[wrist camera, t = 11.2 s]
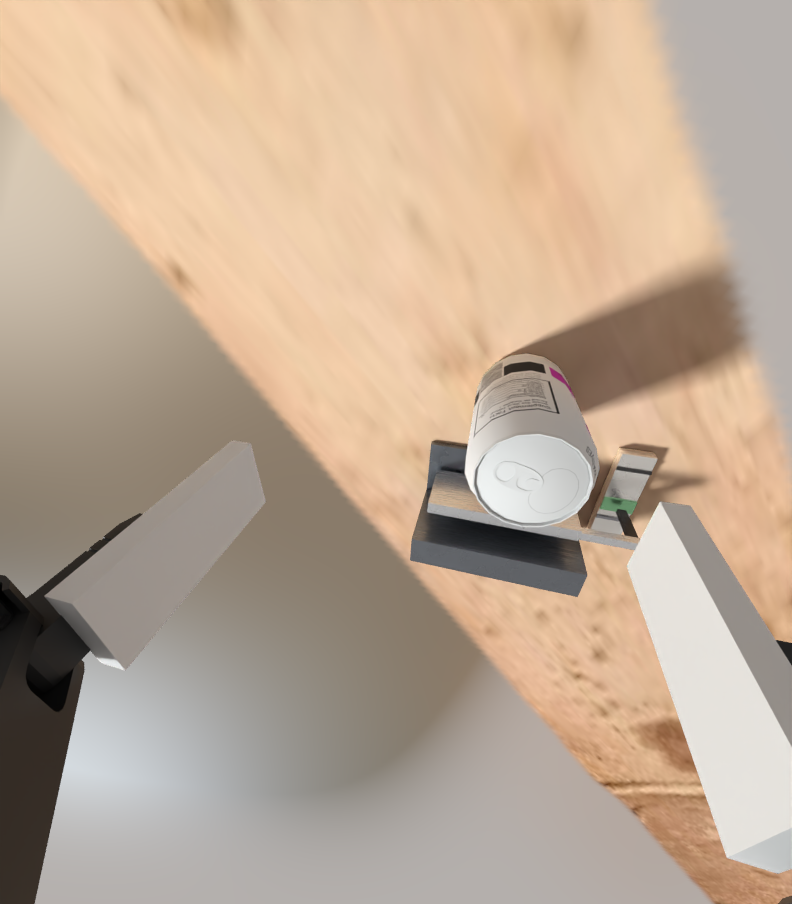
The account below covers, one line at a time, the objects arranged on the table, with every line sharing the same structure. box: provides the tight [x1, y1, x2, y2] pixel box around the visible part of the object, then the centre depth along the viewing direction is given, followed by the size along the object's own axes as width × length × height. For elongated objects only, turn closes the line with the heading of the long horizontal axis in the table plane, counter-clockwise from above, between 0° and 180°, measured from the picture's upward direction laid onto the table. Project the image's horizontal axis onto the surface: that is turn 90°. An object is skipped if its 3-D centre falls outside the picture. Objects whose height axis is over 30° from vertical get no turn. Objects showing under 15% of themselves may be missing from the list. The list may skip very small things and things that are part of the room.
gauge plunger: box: [427, 469, 640, 550], centre depth 36 cm, size 1×19×6 cm, turn 87°
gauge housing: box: [410, 442, 658, 597], centre depth 36 cm, size 12×21×9 cm, turn 87°
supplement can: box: [465, 353, 600, 527], centre depth 29 cm, size 8×8×15 cm
